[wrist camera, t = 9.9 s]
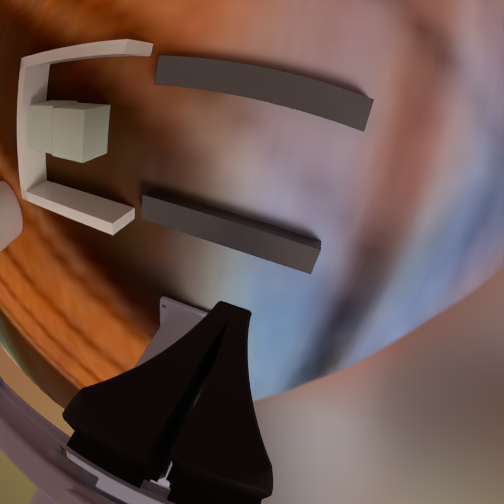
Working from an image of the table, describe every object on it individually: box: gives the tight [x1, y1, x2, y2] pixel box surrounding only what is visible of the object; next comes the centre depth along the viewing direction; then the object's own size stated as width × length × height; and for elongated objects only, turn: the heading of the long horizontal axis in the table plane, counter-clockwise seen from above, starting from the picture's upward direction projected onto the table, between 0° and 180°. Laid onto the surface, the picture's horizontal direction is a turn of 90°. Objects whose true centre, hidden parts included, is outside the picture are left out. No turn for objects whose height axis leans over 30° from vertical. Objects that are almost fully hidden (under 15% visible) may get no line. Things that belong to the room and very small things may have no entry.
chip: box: [28, 100, 78, 154], centre depth 18 cm, size 4×4×3 cm
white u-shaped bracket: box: [17, 39, 153, 235], centre depth 17 cm, size 14×13×3 cm
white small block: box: [52, 103, 111, 163], centre depth 17 cm, size 4×4×3 cm
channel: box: [142, 55, 374, 274], centre depth 17 cm, size 12×13×1 cm
